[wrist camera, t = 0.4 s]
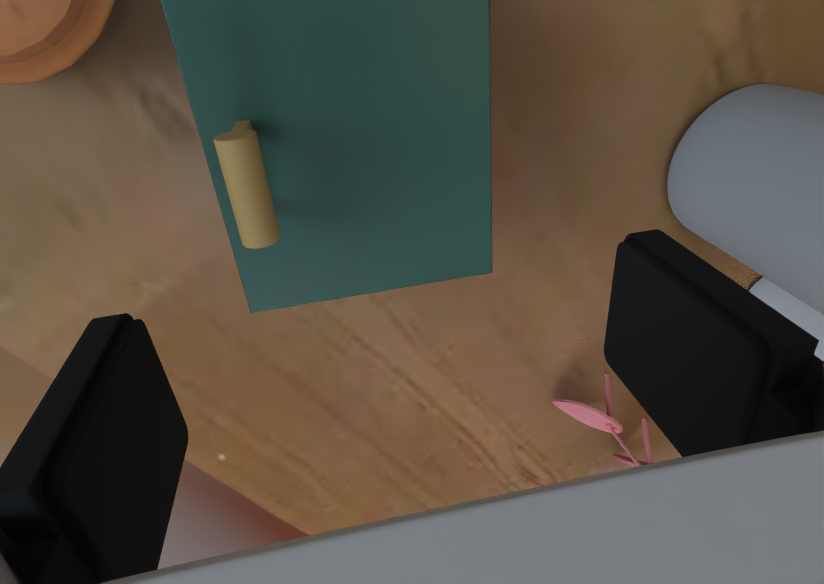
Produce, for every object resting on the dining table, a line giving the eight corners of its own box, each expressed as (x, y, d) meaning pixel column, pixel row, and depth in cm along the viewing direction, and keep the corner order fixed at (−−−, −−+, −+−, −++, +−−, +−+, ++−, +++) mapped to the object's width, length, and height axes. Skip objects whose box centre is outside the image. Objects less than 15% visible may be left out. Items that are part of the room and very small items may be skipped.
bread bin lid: (251, 306, 32) (243, 358, 27) (158, -20, 23) (124, -21, 19) (488, 267, 33) (517, 310, 29) (484, -53, 25) (524, -60, 20)
